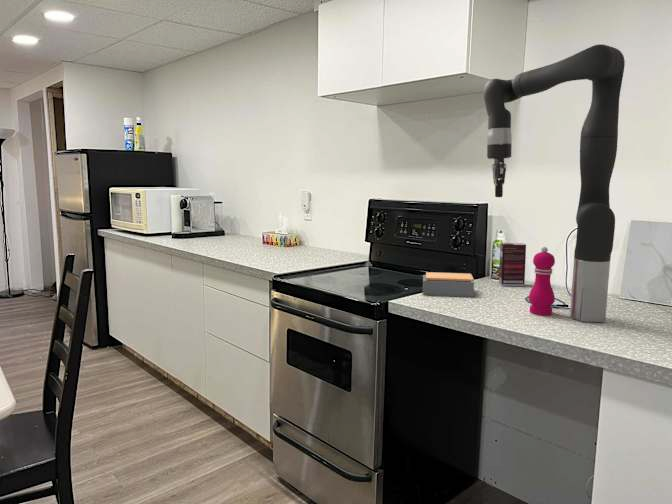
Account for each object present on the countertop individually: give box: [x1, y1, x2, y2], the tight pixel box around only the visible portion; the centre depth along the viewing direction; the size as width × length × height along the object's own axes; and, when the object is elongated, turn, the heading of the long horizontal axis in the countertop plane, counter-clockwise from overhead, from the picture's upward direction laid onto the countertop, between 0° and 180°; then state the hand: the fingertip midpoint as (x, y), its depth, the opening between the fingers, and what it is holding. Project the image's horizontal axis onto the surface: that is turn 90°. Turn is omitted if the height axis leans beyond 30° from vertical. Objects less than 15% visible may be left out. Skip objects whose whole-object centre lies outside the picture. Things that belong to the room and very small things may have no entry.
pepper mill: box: [528, 246, 556, 316], centre depth 150 cm, size 7×7×20 cm
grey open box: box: [422, 274, 475, 298], centre depth 178 cm, size 11×17×5 cm, turn 80°
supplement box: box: [498, 242, 527, 287], centre depth 190 cm, size 9×5×16 cm, turn 84°
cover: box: [425, 271, 475, 282], centre depth 179 cm, size 11×16×1 cm
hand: (498, 197), depth 166 cm, fingers closed
